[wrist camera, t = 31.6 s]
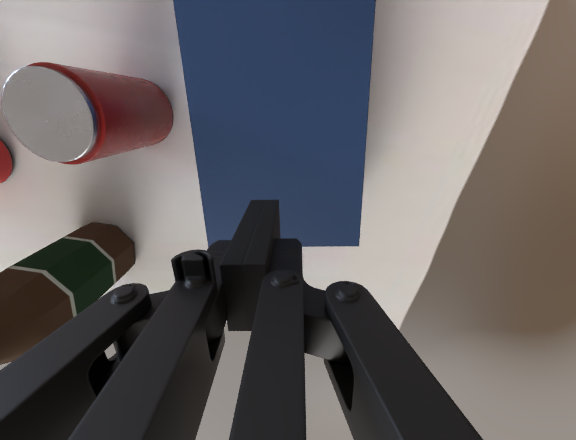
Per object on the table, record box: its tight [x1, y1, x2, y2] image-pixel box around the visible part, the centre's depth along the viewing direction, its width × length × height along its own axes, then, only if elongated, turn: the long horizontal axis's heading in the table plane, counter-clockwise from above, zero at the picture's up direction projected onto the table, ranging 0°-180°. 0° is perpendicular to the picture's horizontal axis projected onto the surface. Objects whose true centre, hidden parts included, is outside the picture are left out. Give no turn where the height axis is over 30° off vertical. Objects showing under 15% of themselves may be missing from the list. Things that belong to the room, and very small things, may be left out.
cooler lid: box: [173, 0, 376, 247], centre depth 22 cm, size 22×14×1 cm, turn 2°
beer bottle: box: [0, 223, 135, 365], centre depth 25 cm, size 8×8×24 cm
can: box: [2, 62, 173, 164], centre depth 24 cm, size 7×7×12 cm
